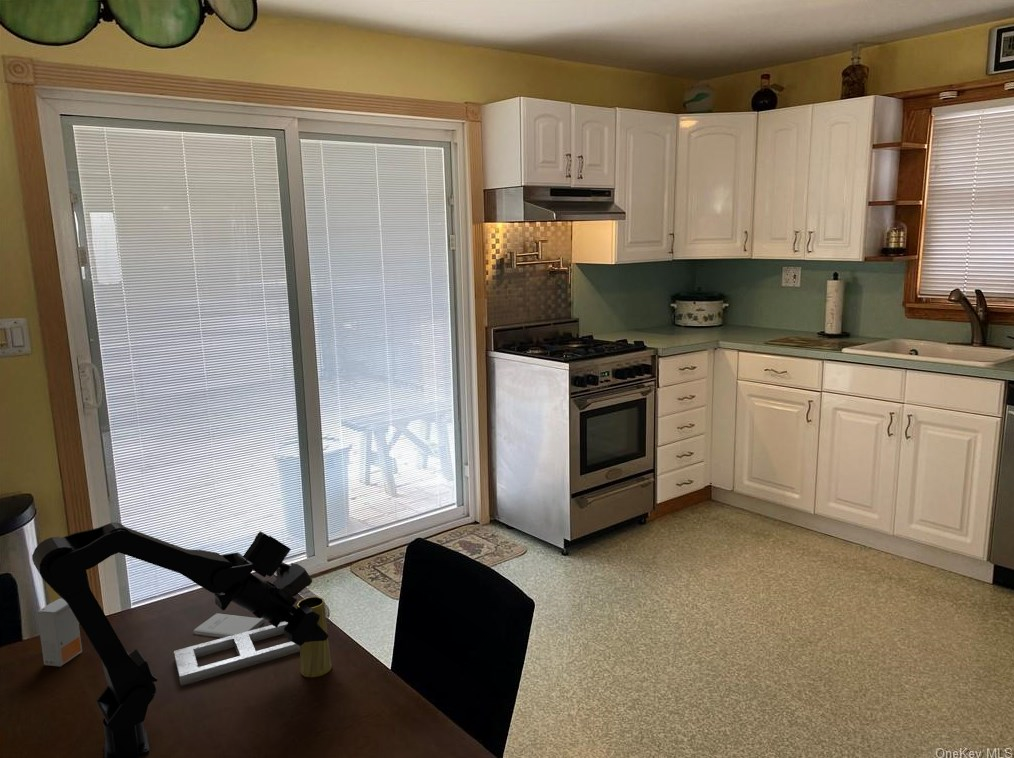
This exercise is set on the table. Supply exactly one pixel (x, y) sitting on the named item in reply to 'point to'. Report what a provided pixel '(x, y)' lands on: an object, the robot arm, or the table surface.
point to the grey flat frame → (245, 658)
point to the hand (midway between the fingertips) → (315, 629)
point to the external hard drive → (227, 625)
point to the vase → (315, 643)
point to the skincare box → (58, 633)
